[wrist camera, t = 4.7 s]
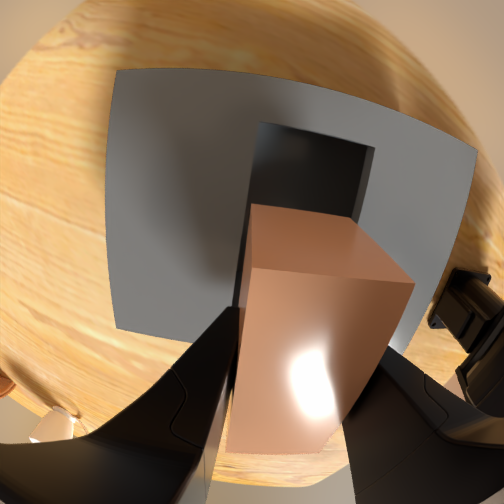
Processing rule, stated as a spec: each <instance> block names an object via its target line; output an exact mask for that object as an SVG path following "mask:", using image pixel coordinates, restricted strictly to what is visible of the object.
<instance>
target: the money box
mask: <svg viewBox="0 0 504 504" xmlns="http://www.w3.org/2000/svg"><path fill="white" fill-rule="evenodd" d="M477 153H478V150H477V149H475V148H473V147H471V146H470V145H468V144H466V143H464V142H462V141H461V140H459V139H457V138H455V137H453V136H451V135H449V134H447V133H445V132H443V131H441V130H439V129H437V128H435V127H433V126H431V125H428V124H426V123H424V122H422V121H420V120H417V119H415V118H413V117H410V116H408V115H405V114H403V113H400V112H398V111H395V110H393V109H390V108H387V107H385V106H382V105H379V104H376V103H374V102H371V101H368V100H365V99H361V98H358V97H355V96H352V95H349V94H345V93H342V92H338V91H335V90H331V89H327V88H323V87H319V86H315V85H311V84H306V83H302V82H297V81H292V80H287V79H282V78H276V77H270V76H264V75H257V74H250V73H242V72H233V71H223V70H210V69H190V68H148V69H129V70H117V72H116V78H115V84H114V90H113V96H112V103H111V111H110V119H109V129H108V140H107V154H106V175H105V222H106V244H107V258H108V270H109V280H110V288H111V296H112V304H113V311H114V317H115V323H116V328H117V329H122V330H126V331H131V332H135V333H140V334H145V335H150V336H155V337H160V338H166V339H171V340H177V341H183V342H189V343H194V342H195V341H196V340H197V339H198V337H199V336H200V335H201V334H202V333H203V332H204V331H205V330H206V329H207V328H208V327H209V326H210V324H211V323H212V322H213V321H214V320H215V319H216V318H217V317H218V316H219V315H220V314H221V313H222V311H223V310H224V309H225V308H226V307H227V306H232V307H238V305H239V297H240V289H241V281H242V273H243V265H244V257H245V249H246V242H247V234H248V226H249V218H250V211H251V204H259V205H267V206H275V207H282V208H289V209H297V210H304V211H310V212H317V213H324V214H330V215H336V216H343V217H349V218H351V219H352V220H353V221H354V222H355V223H356V224H357V225H358V226H359V227H360V228H361V229H362V230H363V231H365V232H366V233H367V234H368V235H369V236H370V237H371V238H372V239H373V240H374V241H375V242H376V243H377V244H378V245H379V246H380V247H381V248H382V249H383V250H384V251H385V252H386V253H387V254H388V255H389V256H390V257H391V258H392V259H393V260H394V261H395V262H396V263H397V264H398V265H399V266H400V267H401V268H402V269H403V270H404V271H405V273H406V274H407V275H408V276H409V277H410V278H411V279H412V280H413V281H414V282H415V283H416V284H415V287H414V289H413V292H412V294H411V297H410V299H409V301H408V304H407V306H406V308H405V311H404V313H403V315H402V317H401V320H400V322H399V324H398V326H397V328H396V330H395V332H394V334H393V336H392V338H391V340H390V342H389V344H388V345H389V346H390V347H391V348H393V349H394V350H395V351H397V352H398V353H399V354H401V355H403V353H404V351H405V349H406V348H407V346H408V344H409V342H410V341H411V339H412V337H413V335H414V333H415V331H416V330H417V328H418V326H419V324H420V322H421V320H422V318H423V316H424V314H425V312H426V310H427V308H428V306H429V304H430V302H431V299H432V297H433V295H434V293H435V291H436V288H437V286H438V284H439V281H440V279H441V277H442V274H443V272H444V269H445V267H446V264H447V262H448V259H449V256H450V254H451V251H452V248H453V245H454V242H455V239H456V237H457V233H458V230H459V227H460V224H461V221H462V217H463V214H464V210H465V207H466V203H467V199H468V196H469V191H470V187H471V183H472V179H473V174H474V169H475V164H476V158H477Z"/></svg>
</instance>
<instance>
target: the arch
mask: <svg viewBox="0 0 504 504" xmlns="http://www.w3.org/2000/svg"><path fill="white" fill-rule="evenodd" d="M15 387H16V384H14V382H13V381H11V380H8V379H5V378H3V377H0V399H1V398H3V397H5V396H7V395H8V394H9V393H10V392H11V391H12V390H13V389H14V388H15Z"/></svg>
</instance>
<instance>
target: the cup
mask: <svg viewBox="0 0 504 504" xmlns="http://www.w3.org/2000/svg"><path fill="white" fill-rule="evenodd" d="M52 408H53V411H49V412H48V413H47V414H46V415H45V416H44V417H43V418H42V420H41V421H40V423H39V424H38V425H37V426H36V428H35V429H34V430H33V432H32V433H31V434H30V436H29V439H30V440H31V441H32V443H37V442H49V441H58V440H66V439H72V437H73V429H74V427H73V423H75V420H76V421H78V422H79V423H80V424H81V425H82V427H83V428H84V430H85V432H86V434H89V432H88V431H87V429H86V428H85V426H84V425H83V424H82V422H81V421H80V420H79V419H78V418H77V417H75V416H73V415H71V414H70V413H69V412H68V411H67V410H65V409H63V408H61V407H59V406H53V407H52Z"/></svg>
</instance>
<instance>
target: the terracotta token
mask: <svg viewBox="0 0 504 504" xmlns="http://www.w3.org/2000/svg"><path fill="white" fill-rule="evenodd" d="M415 284H416V283H415V282H414V281H413V280H412V279H411V278H410V277H409V276H408V275H407V274H406V273H405V271H404V270H403V269H402V268H401V267H400V266H399V265H398V264H397V263H396V262H395V261H394V260H393V259H392V258H391V257H390V256H389V255H388V254H387V253H386V252H385V251H384V250H383V249H382V248H381V247H380V246H379V245H378V244H377V243H376V242H375V241H374V240H373V239H372V238H371V237H370V236H369V235H368V234H367V233H366V232H365V231H363V230H362V229H361V228H360V227H359V226H358V225H357V224H356V223H355V222H354V221H353V220H352V219H351V218H349V217H343V216H336V215H330V214H324V213H317V212H310V211H304V210H297V209H289V208H282V207H275V206H267V205H259V204H251V211H250V218H249V226H248V234H247V242H246V249H245V257H244V265H243V273H242V281H241V289H240V297H239V305H238V307H240V313H239V339H238V347H237V355H236V362H235V370H234V377H233V385H232V391H231V395H230V400H229V404H228V419H227V435H226V451H225V452H227V453H241V454H267V455H284V454H310V453H319V452H320V451H321V450H322V449H323V447H324V446H325V445H326V443H327V442H328V441H329V439H330V438H331V437H332V435H333V434H334V433H335V431H336V430H337V428H338V427H339V426H340V424H341V423H342V421H343V420H344V418H345V417H346V415H347V414H348V413H349V411H350V410H351V408H352V406H353V405H354V403H355V402H356V400H357V399H358V397H359V396H360V394H361V392H362V391H363V389H364V387H365V386H366V384H367V382H368V381H369V379H370V377H371V376H372V374H373V372H374V370H375V369H376V367H377V365H378V363H379V361H380V359H381V358H382V356H383V354H384V352H385V350H386V348H387V346H388V344H389V342H390V340H391V338H392V336H393V334H394V332H395V330H396V328H397V326H398V324H399V322H400V320H401V317H402V315H403V313H404V311H405V308H406V306H407V304H408V301H409V299H410V297H411V294H412V292H413V289H414V287H415Z"/></svg>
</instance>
